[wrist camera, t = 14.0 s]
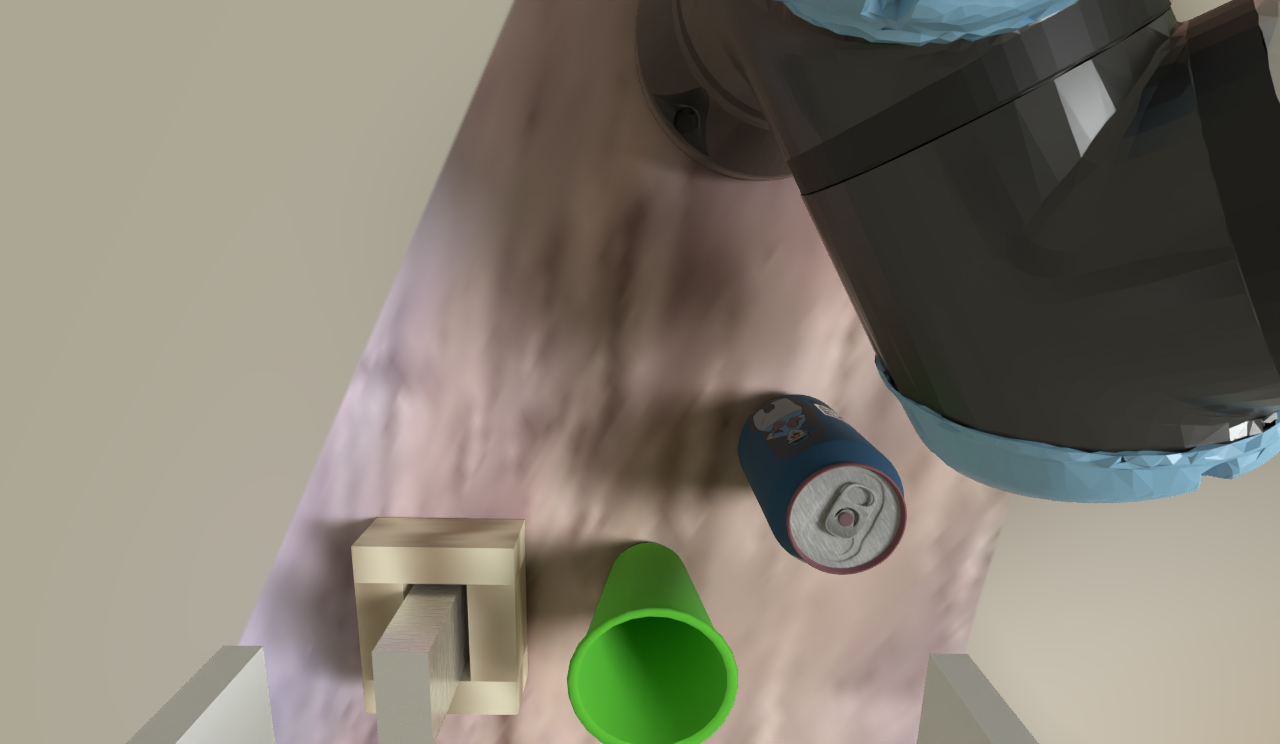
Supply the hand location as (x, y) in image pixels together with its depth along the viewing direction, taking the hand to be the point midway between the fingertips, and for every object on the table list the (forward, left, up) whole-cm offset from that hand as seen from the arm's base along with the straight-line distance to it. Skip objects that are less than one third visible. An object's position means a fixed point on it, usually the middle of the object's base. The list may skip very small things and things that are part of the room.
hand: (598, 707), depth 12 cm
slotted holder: (+12, +16, -29) cm, 35 cm away
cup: (-2, +14, -29) cm, 32 cm away
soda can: (-11, +4, -29) cm, 31 cm away
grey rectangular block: (+12, +16, -29) cm, 35 cm away
